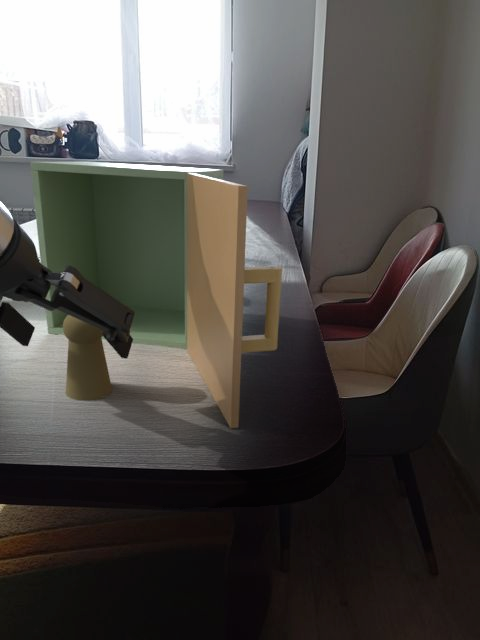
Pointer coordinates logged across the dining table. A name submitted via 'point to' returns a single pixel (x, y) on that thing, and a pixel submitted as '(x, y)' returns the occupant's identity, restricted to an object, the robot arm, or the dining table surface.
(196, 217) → the cabinet door
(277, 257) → the dining table surface
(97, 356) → the olive brown pawn
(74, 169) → the cabinet
